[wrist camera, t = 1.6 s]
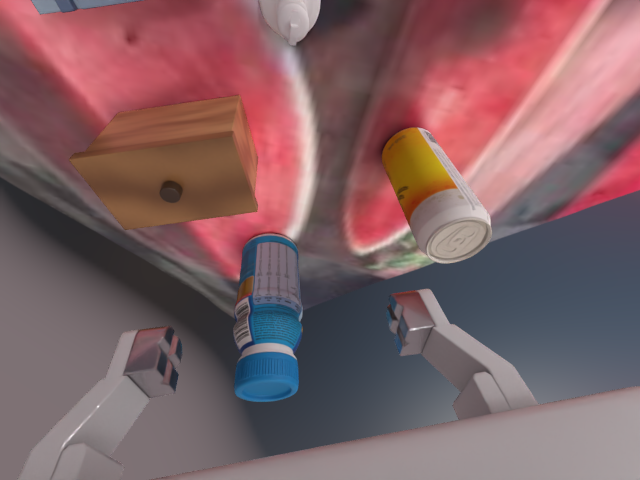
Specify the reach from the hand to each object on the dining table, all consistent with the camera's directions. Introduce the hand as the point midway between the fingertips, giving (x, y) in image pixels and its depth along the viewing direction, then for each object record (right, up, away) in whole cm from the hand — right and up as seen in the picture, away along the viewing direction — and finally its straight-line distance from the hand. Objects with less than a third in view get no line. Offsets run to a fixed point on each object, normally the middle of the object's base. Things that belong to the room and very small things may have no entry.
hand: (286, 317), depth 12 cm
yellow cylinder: (+11, +14, +24) cm, 30 cm away
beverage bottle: (-6, +1, +34) cm, 35 cm away
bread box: (-12, +14, +20) cm, 27 cm away
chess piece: (-1, +22, +13) cm, 26 cm away
